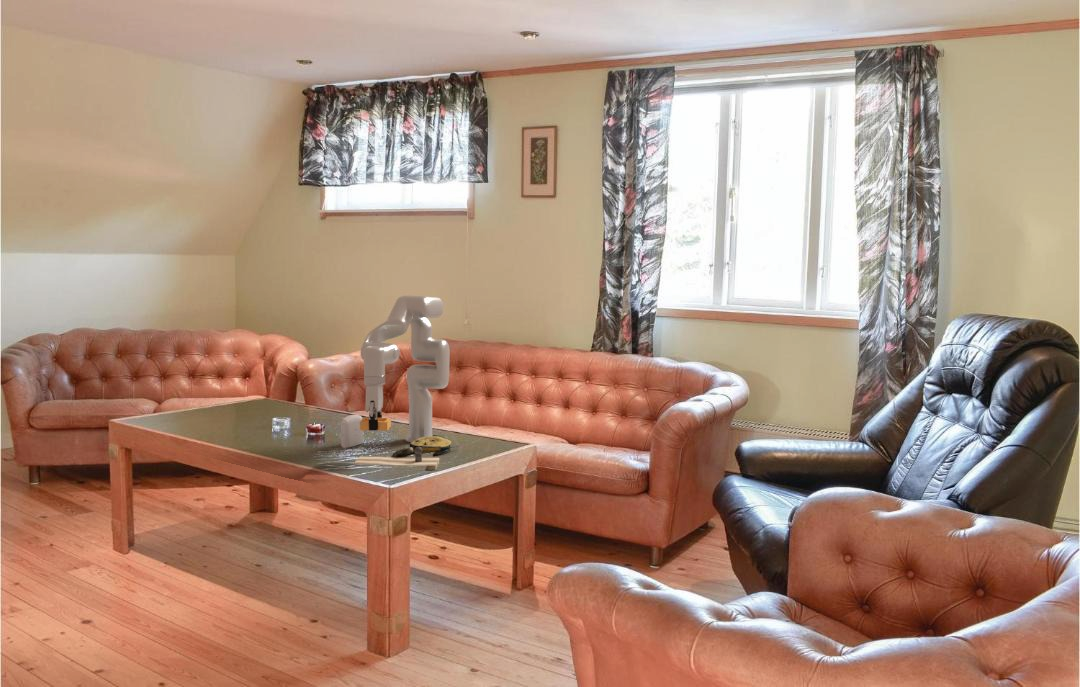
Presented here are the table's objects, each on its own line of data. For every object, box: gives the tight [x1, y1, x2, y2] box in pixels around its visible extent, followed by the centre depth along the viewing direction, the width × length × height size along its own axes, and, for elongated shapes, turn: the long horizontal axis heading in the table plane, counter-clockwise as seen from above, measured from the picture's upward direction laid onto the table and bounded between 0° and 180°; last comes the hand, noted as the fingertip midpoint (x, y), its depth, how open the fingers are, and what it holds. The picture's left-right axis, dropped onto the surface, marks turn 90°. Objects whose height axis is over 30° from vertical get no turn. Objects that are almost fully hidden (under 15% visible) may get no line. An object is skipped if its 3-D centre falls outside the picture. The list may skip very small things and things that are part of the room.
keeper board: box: [352, 447, 440, 471], centre depth 324 cm, size 12×30×7 cm, turn 90°
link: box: [360, 417, 392, 432], centre depth 324 cm, size 7×10×3 cm
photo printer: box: [340, 414, 364, 449], centre depth 354 cm, size 10×4×12 cm, turn 150°
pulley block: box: [392, 434, 459, 457], centre depth 342 cm, size 14×6×30 cm
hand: (375, 427), depth 324 cm, fingers closed on link, 7 cm apart
